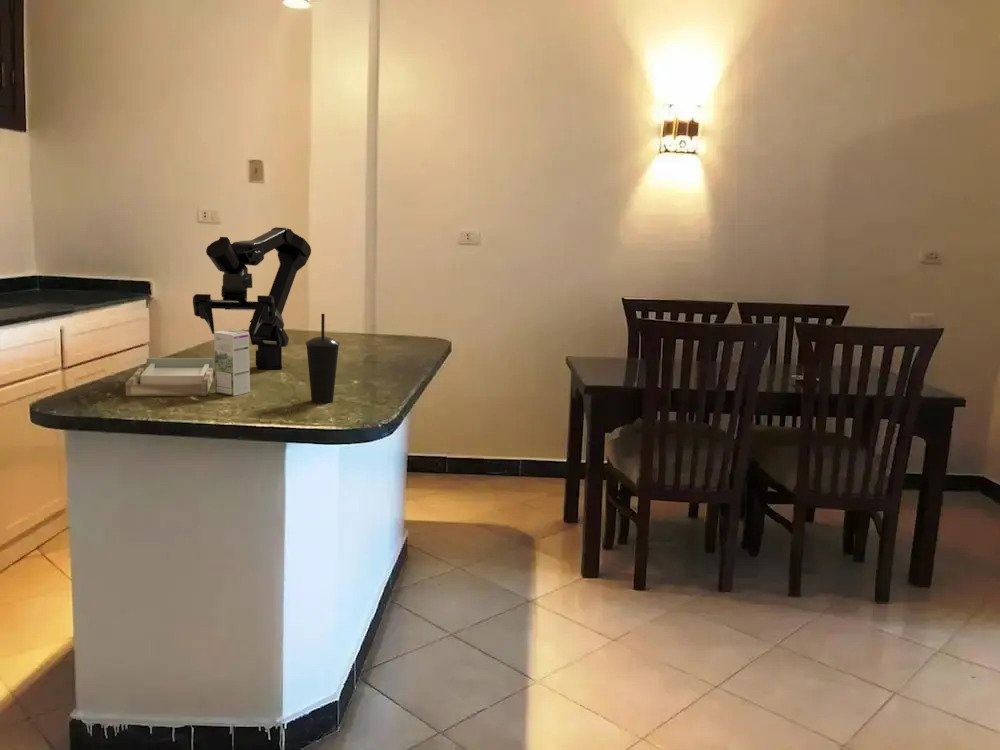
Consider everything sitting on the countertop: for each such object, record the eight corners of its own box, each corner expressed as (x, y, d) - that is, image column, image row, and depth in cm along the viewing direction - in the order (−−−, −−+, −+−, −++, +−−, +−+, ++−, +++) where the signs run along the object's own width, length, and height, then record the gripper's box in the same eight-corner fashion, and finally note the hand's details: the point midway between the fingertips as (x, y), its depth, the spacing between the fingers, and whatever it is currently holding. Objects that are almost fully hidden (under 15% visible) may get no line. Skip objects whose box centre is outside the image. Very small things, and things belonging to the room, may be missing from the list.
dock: (139, 380, 201) (139, 368, 200) (213, 380, 205) (212, 368, 205) (126, 396, 183) (125, 383, 183) (206, 395, 188) (206, 382, 187)
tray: (147, 370, 210) (147, 358, 209) (213, 370, 214) (213, 358, 213) (135, 384, 193) (135, 370, 192) (207, 383, 197) (207, 370, 196)
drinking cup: (310, 405, 182) (310, 315, 179) (301, 398, 189) (301, 312, 185) (343, 403, 186) (344, 315, 182) (333, 396, 193) (334, 311, 189)
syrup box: (251, 392, 193) (250, 331, 191) (233, 396, 188) (232, 333, 185) (232, 389, 196) (231, 328, 193) (214, 393, 190) (213, 331, 188)
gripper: (192, 260, 196) (188, 311, 187) (273, 262, 201) (273, 312, 192) (196, 290, 205) (192, 340, 196) (274, 292, 210) (273, 341, 201)
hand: (233, 333), depth 196 cm, fingers open, 9 cm apart
